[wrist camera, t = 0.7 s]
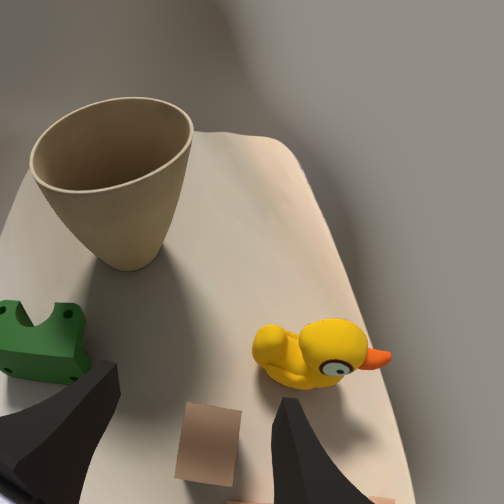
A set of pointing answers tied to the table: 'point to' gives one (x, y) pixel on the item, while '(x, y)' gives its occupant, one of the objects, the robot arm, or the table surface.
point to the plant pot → (116, 175)
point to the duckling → (315, 353)
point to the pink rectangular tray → (379, 502)
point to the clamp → (43, 344)
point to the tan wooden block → (208, 444)
